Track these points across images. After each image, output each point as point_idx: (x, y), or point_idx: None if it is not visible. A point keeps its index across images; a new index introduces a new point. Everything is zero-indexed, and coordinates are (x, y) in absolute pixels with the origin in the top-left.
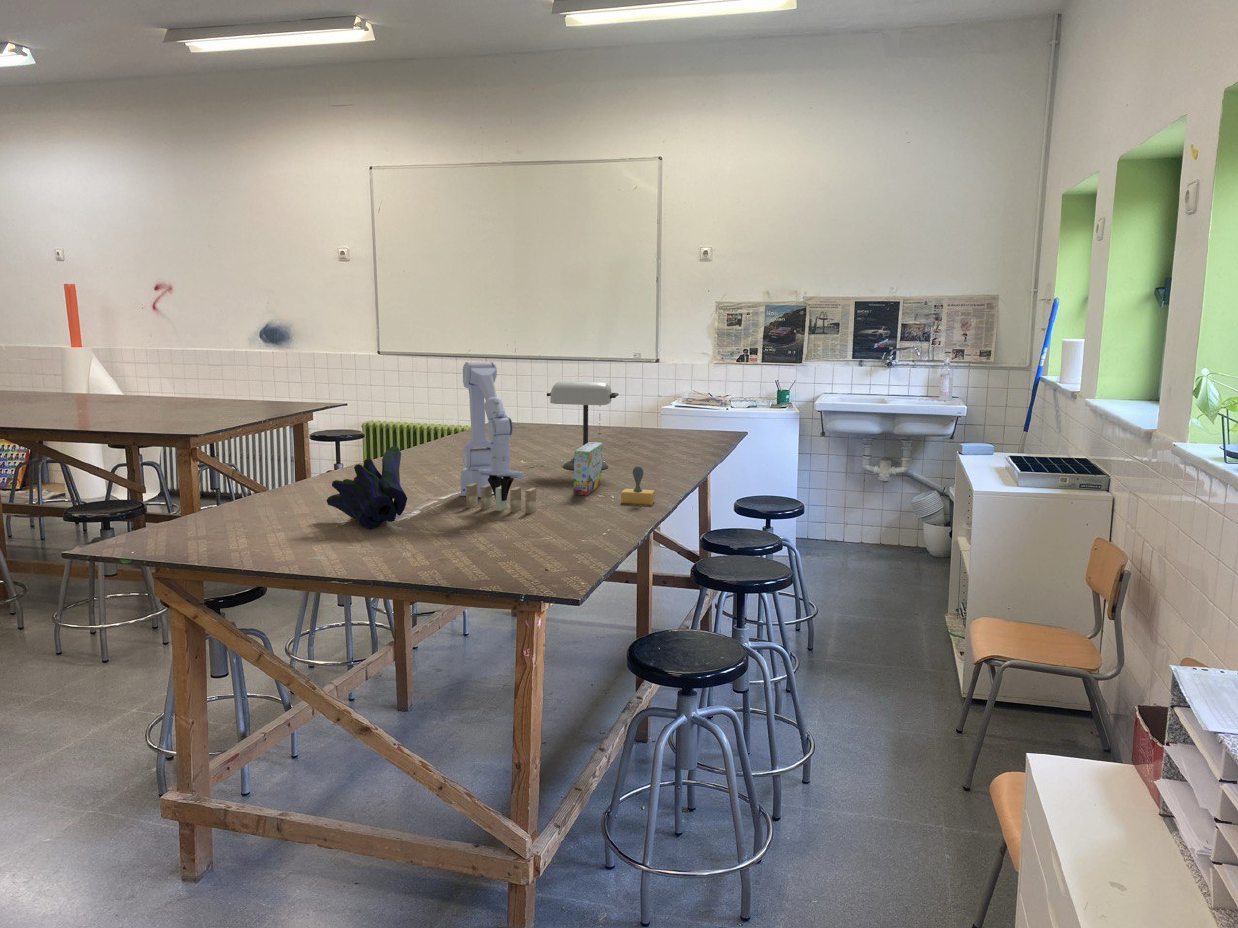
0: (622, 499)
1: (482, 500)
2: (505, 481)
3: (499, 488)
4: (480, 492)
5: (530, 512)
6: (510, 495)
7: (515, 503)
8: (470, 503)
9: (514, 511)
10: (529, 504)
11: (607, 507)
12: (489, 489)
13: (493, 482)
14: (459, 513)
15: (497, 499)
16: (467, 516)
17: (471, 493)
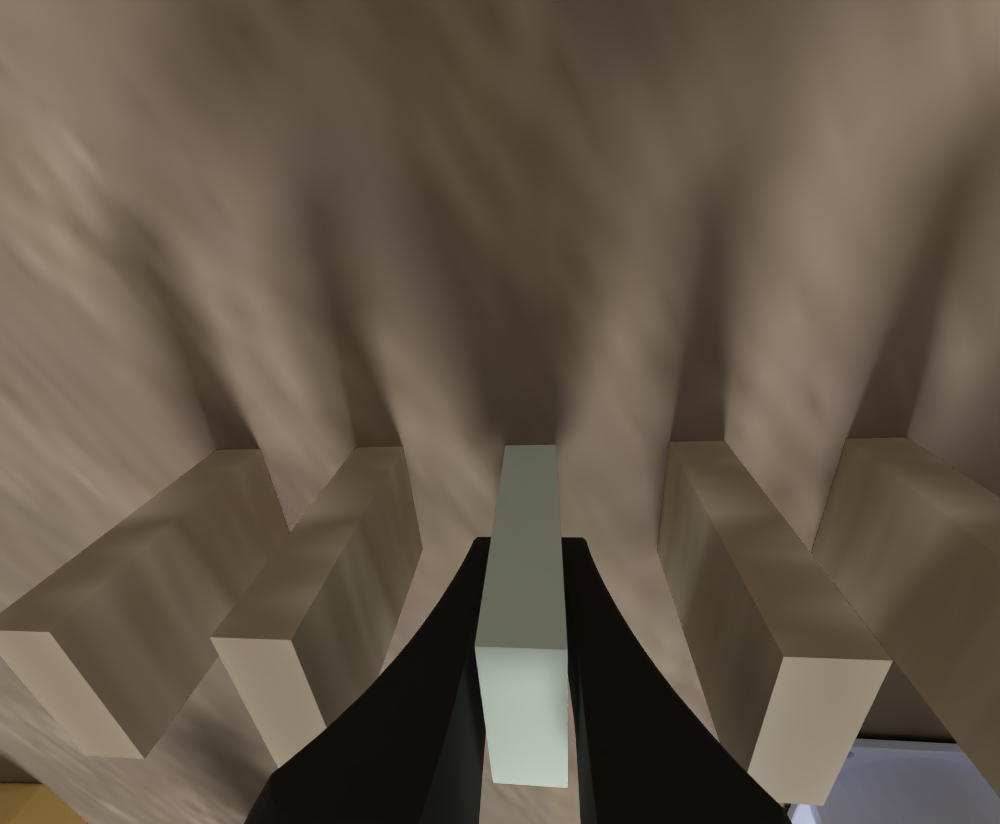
0: (12, 805)
1: (743, 497)
2: (272, 798)
3: (497, 656)
4: (891, 791)
5: (210, 457)
6: (333, 564)
7: (318, 503)
8: (890, 466)
9: (361, 451)
10: (158, 501)
11: (2, 712)
12: (728, 691)
13: (615, 769)
14: (939, 147)
15: (535, 518)
16: (766, 20)
17: (985, 568)
